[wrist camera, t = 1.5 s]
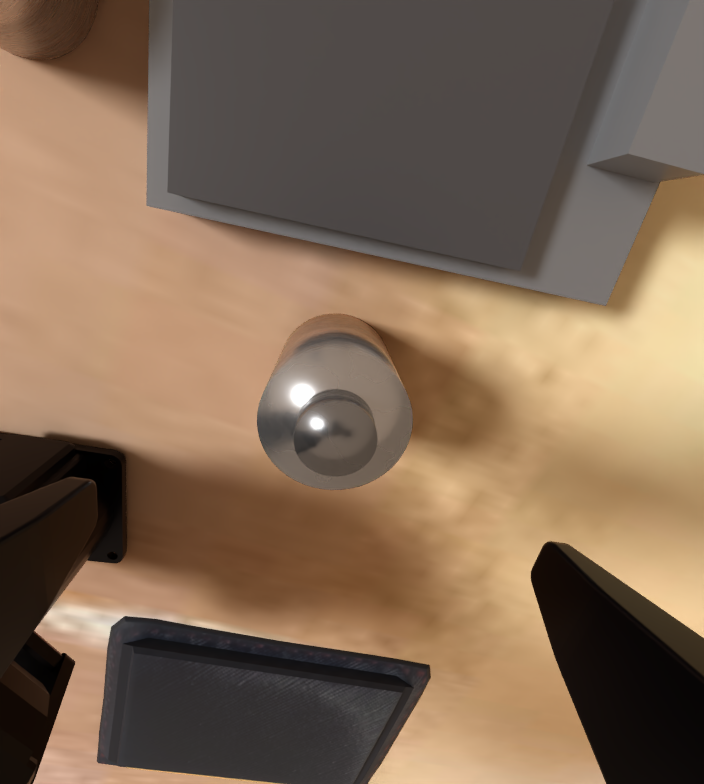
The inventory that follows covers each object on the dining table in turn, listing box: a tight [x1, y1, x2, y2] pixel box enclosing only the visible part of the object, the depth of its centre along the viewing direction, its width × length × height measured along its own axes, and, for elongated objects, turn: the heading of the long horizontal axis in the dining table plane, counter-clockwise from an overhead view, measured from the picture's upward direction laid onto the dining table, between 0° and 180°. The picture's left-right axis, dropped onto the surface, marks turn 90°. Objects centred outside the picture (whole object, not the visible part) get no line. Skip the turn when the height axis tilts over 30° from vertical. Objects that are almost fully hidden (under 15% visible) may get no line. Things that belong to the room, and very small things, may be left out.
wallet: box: [97, 616, 430, 784], centre depth 26 cm, size 20×2×15 cm
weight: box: [257, 314, 413, 490], centre depth 14 cm, size 5×5×7 cm
